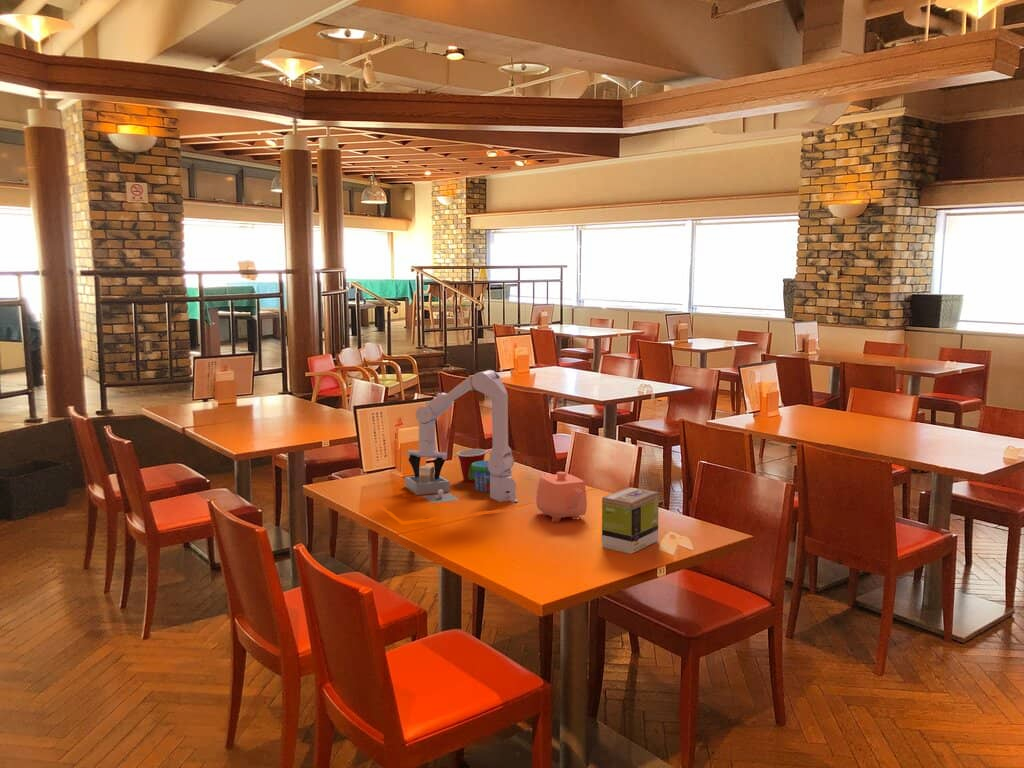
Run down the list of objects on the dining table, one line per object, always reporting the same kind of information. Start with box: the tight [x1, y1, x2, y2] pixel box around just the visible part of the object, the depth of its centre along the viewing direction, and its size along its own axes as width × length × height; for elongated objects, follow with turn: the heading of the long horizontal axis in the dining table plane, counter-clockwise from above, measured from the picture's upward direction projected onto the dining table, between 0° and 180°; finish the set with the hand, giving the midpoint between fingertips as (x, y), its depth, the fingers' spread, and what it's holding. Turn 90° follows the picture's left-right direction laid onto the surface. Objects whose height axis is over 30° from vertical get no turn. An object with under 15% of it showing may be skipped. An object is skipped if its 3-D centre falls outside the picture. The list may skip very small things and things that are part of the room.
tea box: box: [601, 486, 659, 555], centre depth 230 cm, size 15×10×15 cm, turn 141°
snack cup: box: [468, 460, 490, 493], centre depth 286 cm, size 16×10×10 cm
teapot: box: [535, 471, 588, 522], centre depth 257 cm, size 22×13×14 cm, turn 24°
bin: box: [404, 473, 450, 496], centre depth 286 cm, size 12×12×4 cm
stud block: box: [421, 490, 461, 504], centre depth 275 cm, size 10×10×4 cm
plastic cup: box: [456, 448, 487, 484], centre depth 299 cm, size 11×11×12 cm
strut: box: [419, 465, 435, 484], centre depth 286 cm, size 4×4×8 cm
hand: (427, 477), depth 286 cm, fingers open, 7 cm apart
